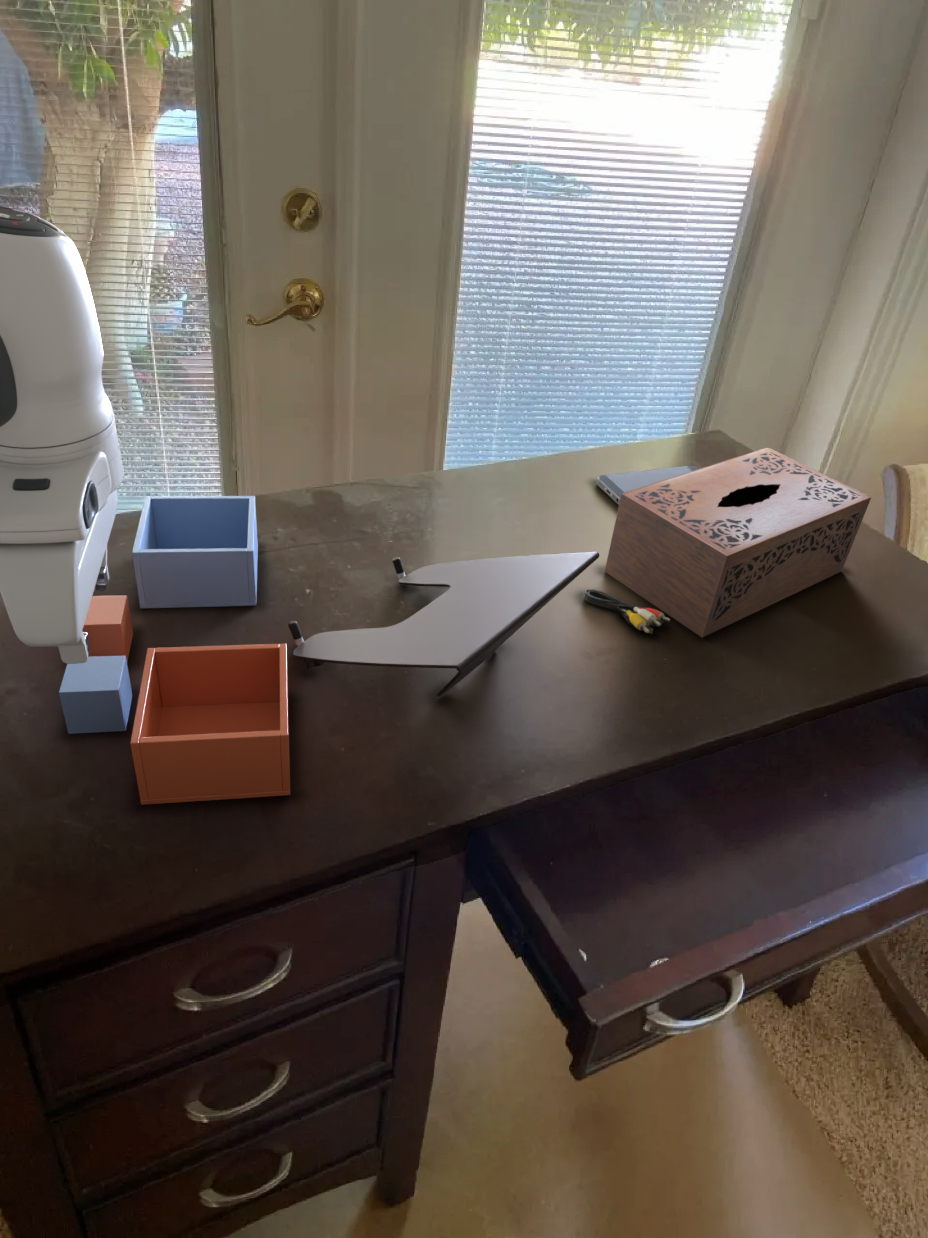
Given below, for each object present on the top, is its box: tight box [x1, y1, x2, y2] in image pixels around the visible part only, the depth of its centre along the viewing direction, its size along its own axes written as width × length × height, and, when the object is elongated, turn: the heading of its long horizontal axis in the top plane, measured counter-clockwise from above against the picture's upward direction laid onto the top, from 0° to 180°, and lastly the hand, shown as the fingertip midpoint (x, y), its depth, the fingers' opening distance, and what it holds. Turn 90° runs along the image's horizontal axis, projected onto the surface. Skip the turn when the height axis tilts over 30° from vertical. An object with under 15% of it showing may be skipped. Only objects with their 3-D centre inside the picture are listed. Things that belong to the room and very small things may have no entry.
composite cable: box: [583, 588, 671, 635], centre depth 94 cm, size 10×5×2 cm, turn 39°
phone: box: [596, 465, 699, 506], centre depth 119 cm, size 8×1×16 cm
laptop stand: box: [287, 551, 600, 698], centre depth 84 cm, size 23×23×9 cm
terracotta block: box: [82, 594, 134, 662], centre depth 81 cm, size 4×4×4 cm
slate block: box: [58, 656, 133, 735], centre depth 74 cm, size 4×4×4 cm
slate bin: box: [131, 495, 259, 609], centre depth 91 cm, size 11×11×6 cm
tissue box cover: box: [604, 446, 872, 638], centre depth 101 cm, size 26×14×10 cm, turn 127°
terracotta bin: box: [129, 643, 291, 806], centre depth 71 cm, size 11×11×6 cm
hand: (87, 620), depth 70 cm, fingers open, 8 cm apart
